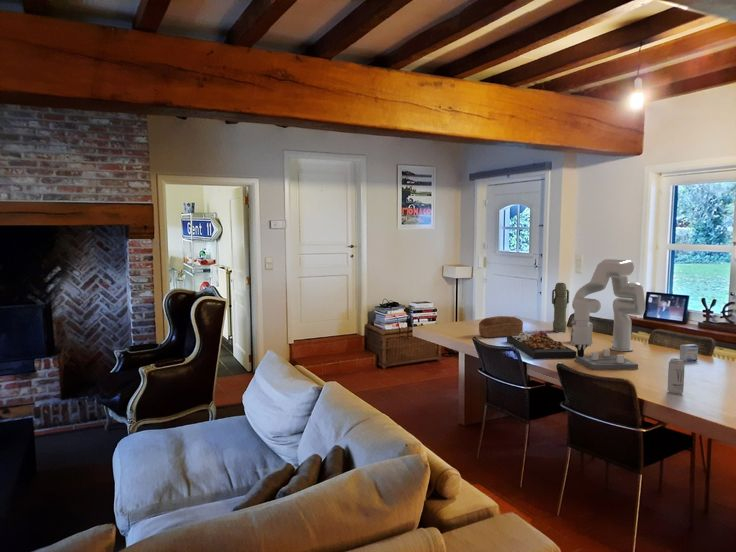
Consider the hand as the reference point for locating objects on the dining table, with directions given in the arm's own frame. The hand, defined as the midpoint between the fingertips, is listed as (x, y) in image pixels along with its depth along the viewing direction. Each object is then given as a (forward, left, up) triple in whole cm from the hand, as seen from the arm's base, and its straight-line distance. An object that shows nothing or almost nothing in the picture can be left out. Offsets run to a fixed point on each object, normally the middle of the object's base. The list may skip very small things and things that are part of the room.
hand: (580, 356), depth 271 cm
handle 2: (+7, +18, -2) cm, 19 cm away
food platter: (-37, -8, -5) cm, 38 cm away
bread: (-78, -19, -5) cm, 81 cm away
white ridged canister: (-57, +29, -5) cm, 64 cm away
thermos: (-90, +27, -5) cm, 94 cm away
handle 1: (-7, +18, -2) cm, 19 cm away
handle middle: (0, +8, -2) cm, 8 cm away
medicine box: (-6, +64, -5) cm, 64 cm away
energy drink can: (+49, +20, -5) cm, 53 cm away
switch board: (0, +14, -4) cm, 15 cm away
